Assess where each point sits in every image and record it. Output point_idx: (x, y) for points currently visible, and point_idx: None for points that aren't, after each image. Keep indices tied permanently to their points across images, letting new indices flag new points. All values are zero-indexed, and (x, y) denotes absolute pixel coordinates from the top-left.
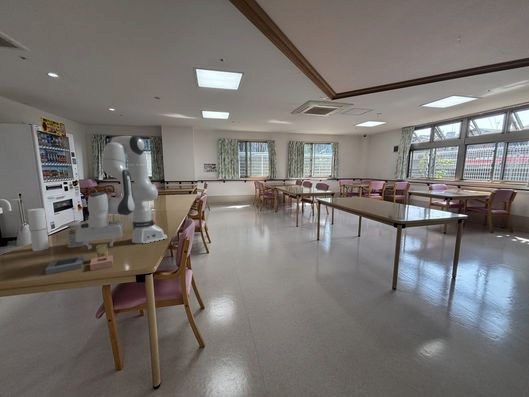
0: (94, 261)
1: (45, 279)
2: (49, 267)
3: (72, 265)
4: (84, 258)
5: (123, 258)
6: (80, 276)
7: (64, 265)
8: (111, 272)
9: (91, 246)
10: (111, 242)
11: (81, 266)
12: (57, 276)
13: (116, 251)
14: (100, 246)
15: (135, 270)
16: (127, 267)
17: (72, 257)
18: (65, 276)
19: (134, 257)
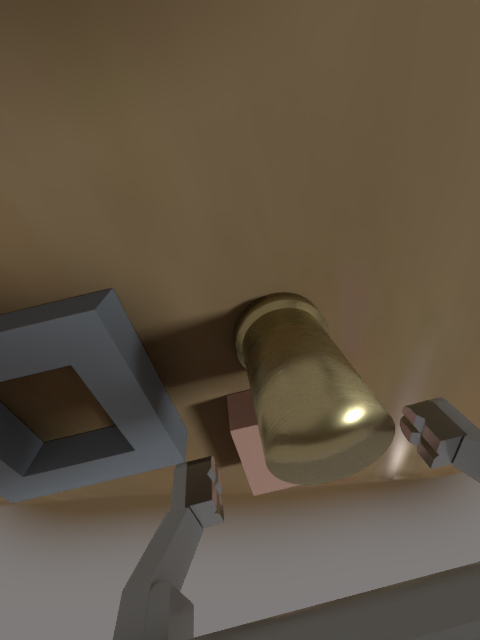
0: (264, 468)
1: (83, 498)
2: (4, 485)
3: (141, 467)
4: (112, 301)
5: (406, 352)
6: (226, 492)
7: (90, 473)
8: (336, 480)
9: (216, 491)
10: (464, 442)
11: (186, 440)
12: (118, 484)
13: (384, 107)
14: (316, 473)
15: (417, 477)
16: (398, 455)
17: (6, 350)
18: (159, 487)
19: (468, 353)
